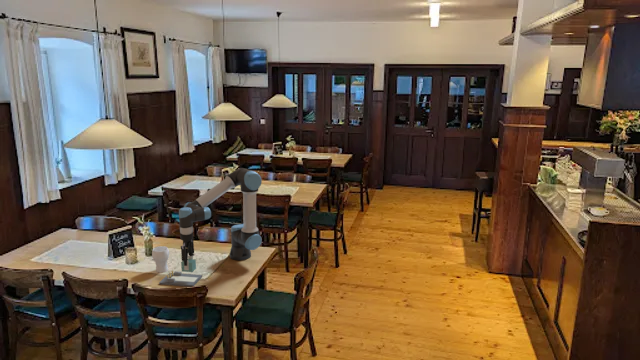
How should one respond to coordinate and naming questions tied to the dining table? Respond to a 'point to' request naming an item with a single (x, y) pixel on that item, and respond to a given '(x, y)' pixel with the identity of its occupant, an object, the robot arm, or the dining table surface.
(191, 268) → the plug block
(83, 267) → the dining table surface
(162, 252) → the cup
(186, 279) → the header board
